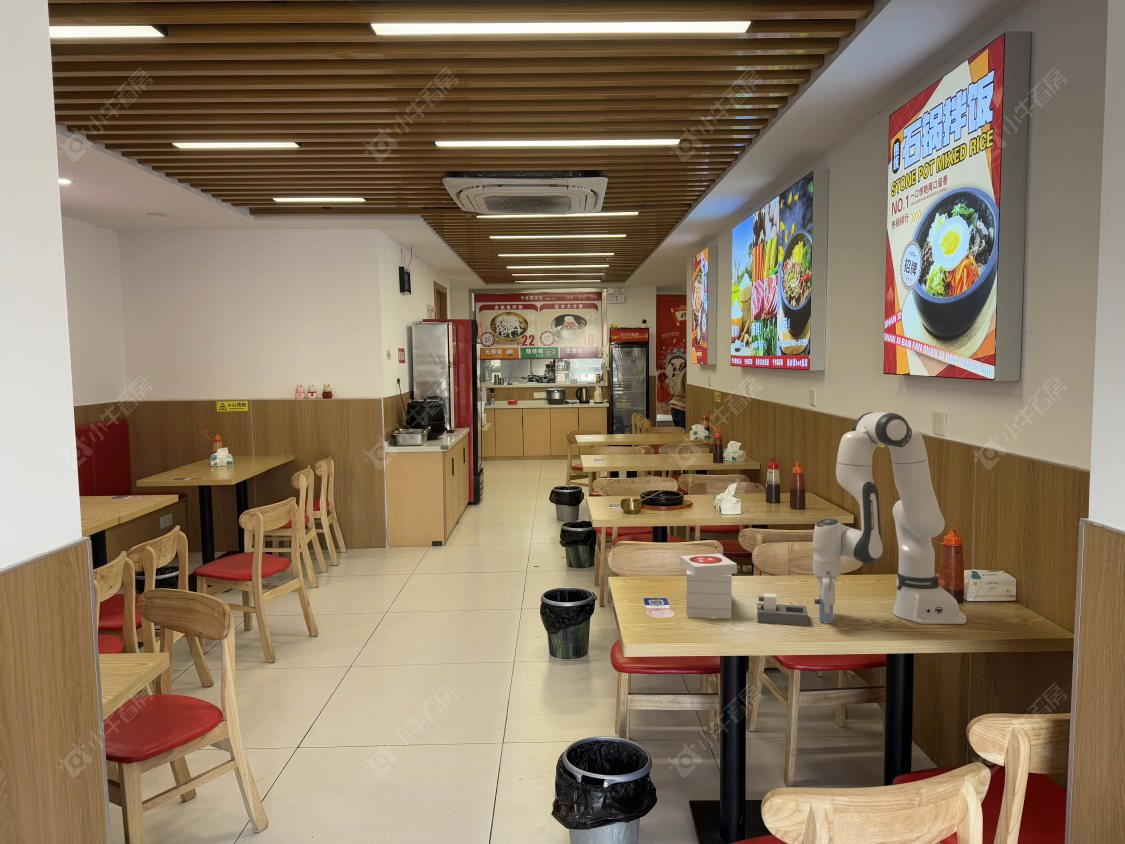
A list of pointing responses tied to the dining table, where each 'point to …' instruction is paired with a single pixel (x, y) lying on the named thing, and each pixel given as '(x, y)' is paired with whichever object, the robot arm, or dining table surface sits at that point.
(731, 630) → the dining table surface
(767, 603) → the white plug
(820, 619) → the blue plug
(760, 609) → the grey socket tray
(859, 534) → the robot arm
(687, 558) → the stack of pizza boxes
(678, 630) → the dining table surface
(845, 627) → the dining table surface
